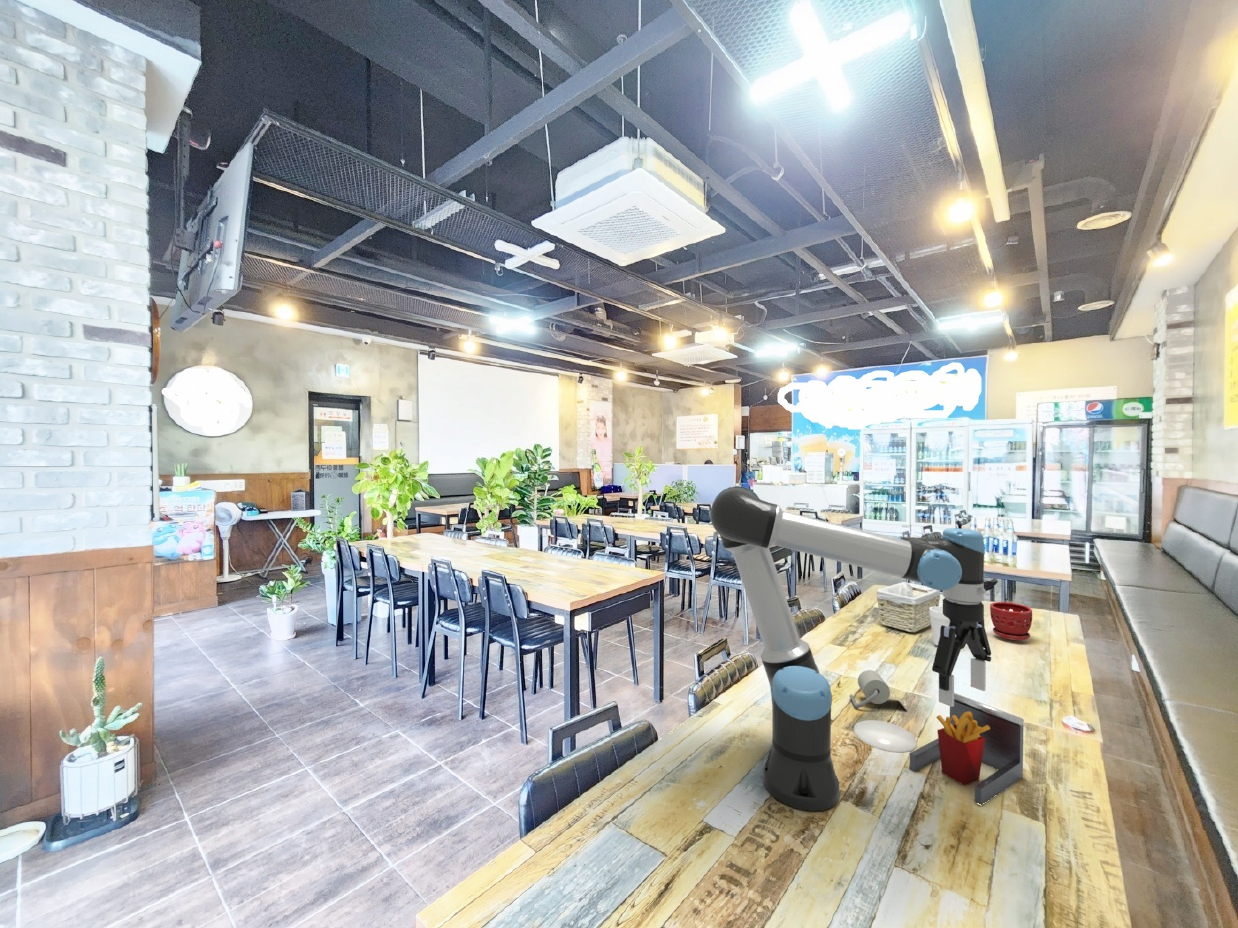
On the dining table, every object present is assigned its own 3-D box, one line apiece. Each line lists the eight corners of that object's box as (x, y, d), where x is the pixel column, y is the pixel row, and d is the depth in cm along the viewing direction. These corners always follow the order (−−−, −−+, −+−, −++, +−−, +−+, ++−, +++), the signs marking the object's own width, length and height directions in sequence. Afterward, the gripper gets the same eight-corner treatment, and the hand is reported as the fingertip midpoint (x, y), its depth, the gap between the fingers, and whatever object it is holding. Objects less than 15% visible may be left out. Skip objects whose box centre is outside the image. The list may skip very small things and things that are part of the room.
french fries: (935, 772, 114) (936, 706, 114) (959, 764, 118) (960, 699, 117) (975, 797, 106) (977, 726, 106) (1000, 787, 110) (1001, 717, 109)
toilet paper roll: (910, 715, 139) (881, 678, 141) (877, 736, 141) (848, 699, 142) (897, 698, 149) (870, 663, 151) (866, 717, 151) (840, 683, 153)
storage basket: (914, 634, 202) (914, 597, 202) (874, 623, 215) (874, 588, 215) (941, 623, 216) (942, 588, 215) (902, 613, 229) (902, 580, 229)
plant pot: (989, 628, 209) (990, 599, 209) (1030, 635, 201) (1031, 605, 201) (989, 637, 199) (990, 607, 198) (1033, 645, 191) (1033, 613, 191)
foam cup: (958, 643, 193) (958, 608, 193) (959, 651, 185) (959, 615, 185) (929, 638, 198) (929, 604, 198) (928, 645, 190) (928, 611, 190)
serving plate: (895, 760, 119) (895, 757, 119) (842, 732, 131) (842, 729, 131) (928, 743, 126) (928, 739, 126) (875, 717, 138) (875, 715, 138)
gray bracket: (981, 808, 103) (982, 741, 103) (909, 770, 115) (910, 710, 115) (1022, 778, 112) (1023, 717, 112) (952, 746, 125) (953, 691, 124)
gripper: (951, 613, 102) (951, 718, 103) (1009, 595, 115) (1009, 688, 115) (913, 604, 109) (913, 703, 109) (972, 588, 121) (972, 676, 122)
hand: (962, 696), depth 112 cm, fingers open, 13 cm apart
